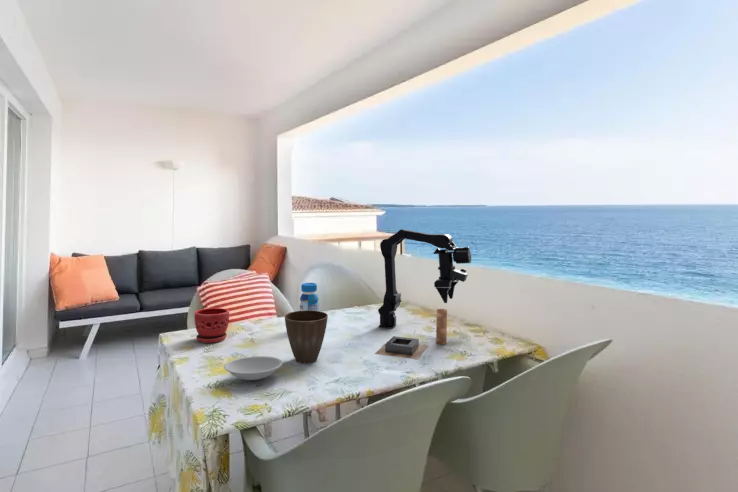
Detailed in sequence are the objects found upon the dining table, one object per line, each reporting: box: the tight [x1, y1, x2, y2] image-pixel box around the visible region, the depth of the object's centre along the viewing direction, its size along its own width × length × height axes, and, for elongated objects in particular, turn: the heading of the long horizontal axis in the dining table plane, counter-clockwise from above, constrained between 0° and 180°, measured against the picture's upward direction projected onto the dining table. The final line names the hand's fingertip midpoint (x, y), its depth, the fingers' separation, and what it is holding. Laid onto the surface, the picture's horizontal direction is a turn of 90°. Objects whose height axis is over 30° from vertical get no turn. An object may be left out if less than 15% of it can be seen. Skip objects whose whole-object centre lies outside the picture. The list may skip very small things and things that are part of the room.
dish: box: [223, 355, 283, 381], centre depth 133 cm, size 18×14×5 cm
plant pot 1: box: [194, 307, 230, 344], centre depth 173 cm, size 13×13×12 cm
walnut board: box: [374, 343, 429, 360], centre depth 158 cm, size 16×16×1 cm
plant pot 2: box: [284, 310, 329, 364], centre depth 149 cm, size 15×15×16 cm
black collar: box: [384, 335, 420, 355], centre depth 158 cm, size 10×10×3 cm
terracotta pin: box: [435, 308, 448, 345], centre depth 166 cm, size 4×4×14 cm
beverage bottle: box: [299, 282, 320, 311], centre depth 188 cm, size 8×8×20 cm
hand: (448, 300), depth 180 cm, fingers open, 9 cm apart
